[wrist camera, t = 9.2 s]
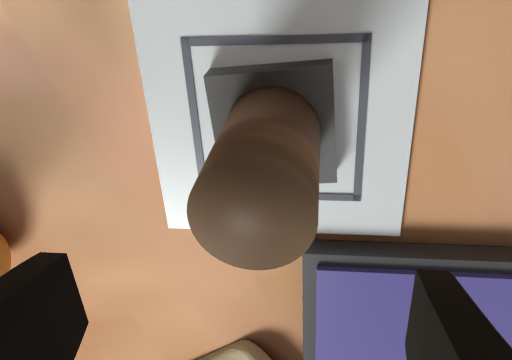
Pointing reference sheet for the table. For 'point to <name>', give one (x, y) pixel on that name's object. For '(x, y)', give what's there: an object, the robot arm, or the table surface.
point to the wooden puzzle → (238, 352)
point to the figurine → (4, 256)
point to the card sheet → (288, 50)
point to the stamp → (265, 162)
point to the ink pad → (390, 293)
